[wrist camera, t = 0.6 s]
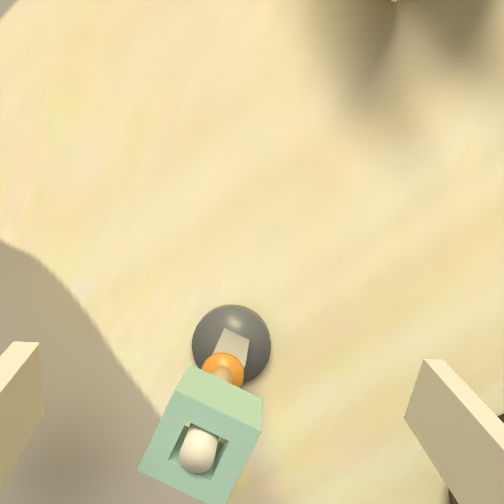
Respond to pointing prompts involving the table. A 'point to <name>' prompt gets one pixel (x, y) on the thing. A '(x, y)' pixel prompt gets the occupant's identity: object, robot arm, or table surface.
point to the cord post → (224, 367)
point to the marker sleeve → (213, 420)
